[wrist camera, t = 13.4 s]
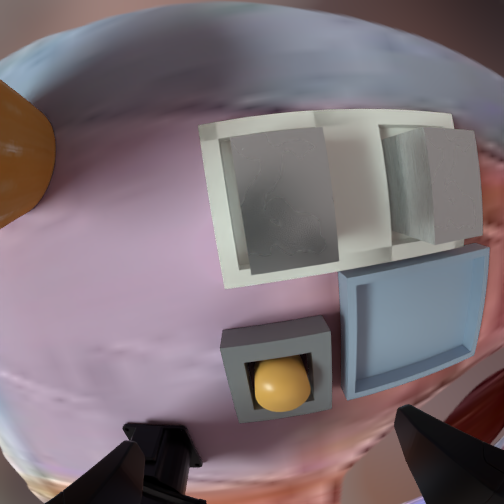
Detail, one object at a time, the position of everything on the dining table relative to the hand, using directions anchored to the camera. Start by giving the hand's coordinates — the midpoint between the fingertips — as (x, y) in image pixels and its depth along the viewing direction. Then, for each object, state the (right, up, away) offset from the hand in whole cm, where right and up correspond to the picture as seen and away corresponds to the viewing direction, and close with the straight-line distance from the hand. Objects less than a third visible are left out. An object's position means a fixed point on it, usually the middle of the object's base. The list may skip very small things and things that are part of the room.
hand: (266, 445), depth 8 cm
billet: (+10, +11, +9) cm, 17 cm away
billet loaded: (+1, +9, +9) cm, 13 cm away
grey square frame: (+1, -2, +13) cm, 13 cm away
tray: (+13, +1, +12) cm, 18 cm away
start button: (+1, -2, +12) cm, 13 cm away
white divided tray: (+6, +10, +10) cm, 16 cm away
